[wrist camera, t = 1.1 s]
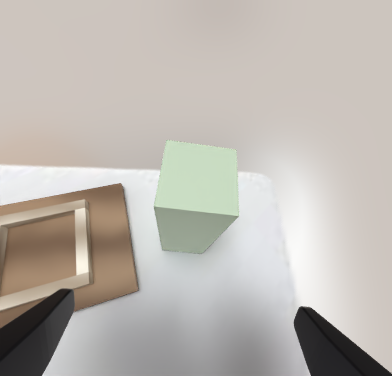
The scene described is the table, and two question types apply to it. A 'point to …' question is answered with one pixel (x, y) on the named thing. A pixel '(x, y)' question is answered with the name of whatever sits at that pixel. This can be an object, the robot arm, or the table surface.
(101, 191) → the base board
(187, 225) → the pillar
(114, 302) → the table surface
